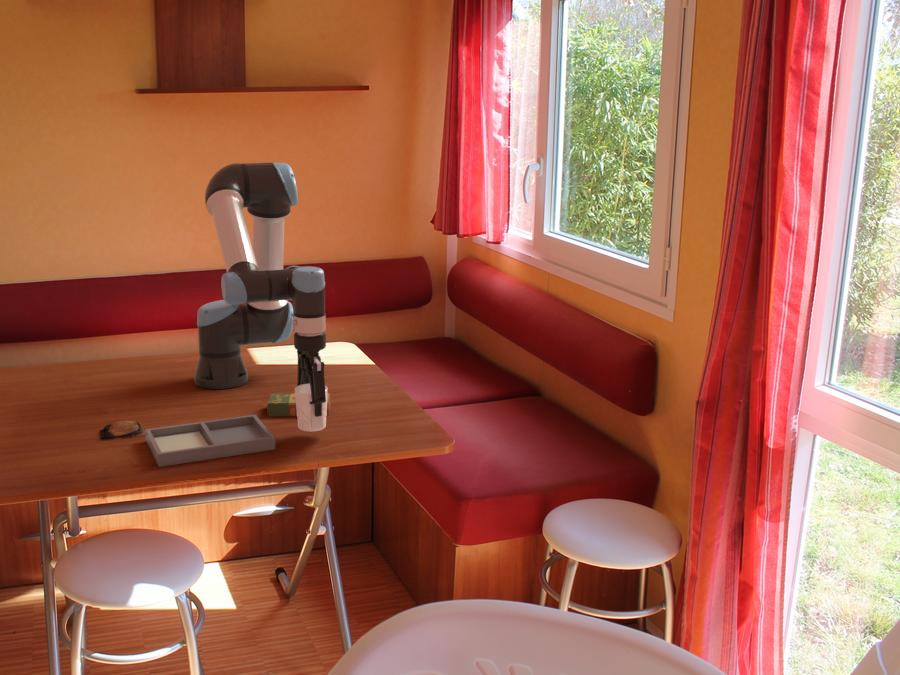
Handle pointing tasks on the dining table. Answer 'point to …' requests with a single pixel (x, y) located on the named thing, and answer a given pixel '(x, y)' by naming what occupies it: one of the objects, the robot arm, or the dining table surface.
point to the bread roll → (121, 430)
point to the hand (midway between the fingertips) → (311, 422)
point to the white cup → (307, 407)
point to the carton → (287, 405)
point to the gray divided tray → (208, 440)
